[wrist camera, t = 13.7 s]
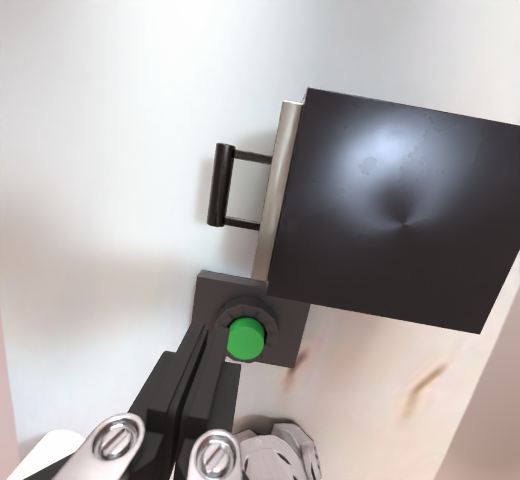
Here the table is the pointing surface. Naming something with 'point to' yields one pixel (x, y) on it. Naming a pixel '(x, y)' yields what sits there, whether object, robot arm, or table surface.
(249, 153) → the drawer
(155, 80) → the table surface
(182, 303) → the table surface
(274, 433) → the car model
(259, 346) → the button
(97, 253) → the table surface
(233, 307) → the control block
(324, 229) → the cabinet
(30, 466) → the cylindrical container
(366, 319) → the table surface
